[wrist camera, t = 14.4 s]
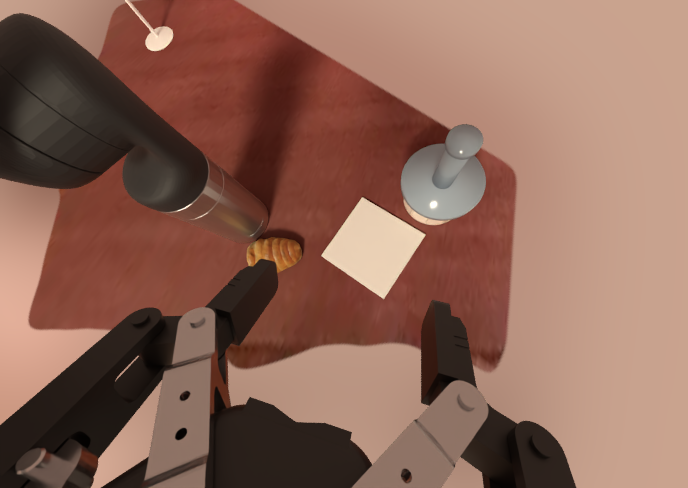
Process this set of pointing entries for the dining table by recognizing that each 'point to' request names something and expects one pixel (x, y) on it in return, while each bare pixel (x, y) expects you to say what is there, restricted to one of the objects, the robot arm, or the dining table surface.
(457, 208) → the lid
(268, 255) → the pastry
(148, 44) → the wineglass
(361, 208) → the mat
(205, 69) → the dining table surface
